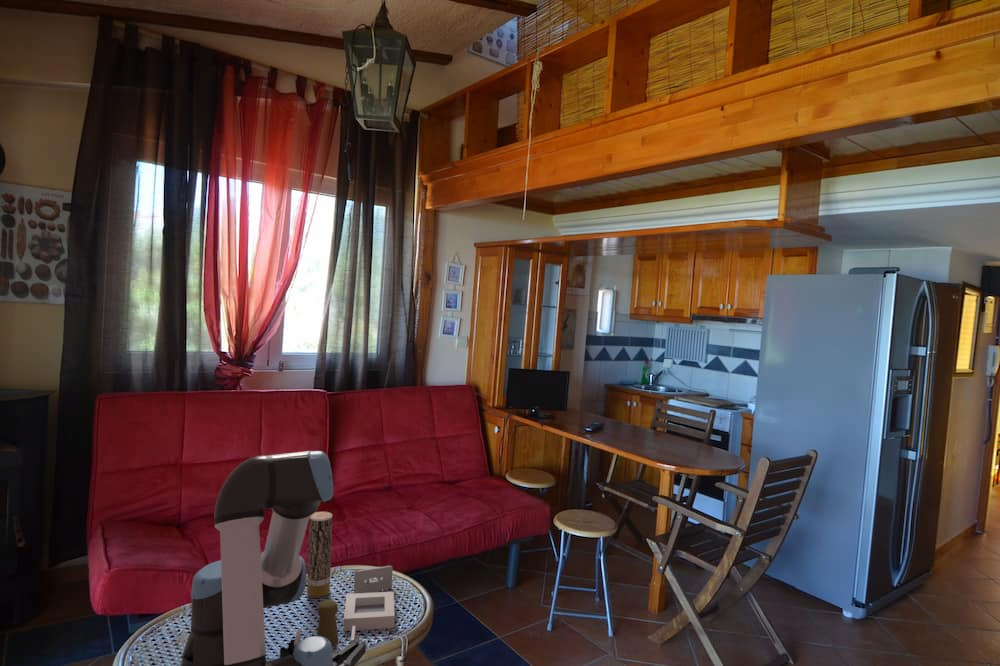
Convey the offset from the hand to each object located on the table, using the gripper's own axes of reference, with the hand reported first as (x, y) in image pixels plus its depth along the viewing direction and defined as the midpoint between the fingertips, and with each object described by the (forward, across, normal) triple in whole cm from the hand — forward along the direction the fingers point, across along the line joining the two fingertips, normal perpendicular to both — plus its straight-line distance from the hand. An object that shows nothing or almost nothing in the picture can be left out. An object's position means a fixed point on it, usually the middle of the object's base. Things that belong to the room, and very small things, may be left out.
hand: (326, 632), depth 149 cm
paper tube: (+33, -6, -7) cm, 34 cm away
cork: (+6, 0, -7) cm, 9 cm away
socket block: (+18, +11, -6) cm, 22 cm away
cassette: (+33, +11, -7) cm, 35 cm away
